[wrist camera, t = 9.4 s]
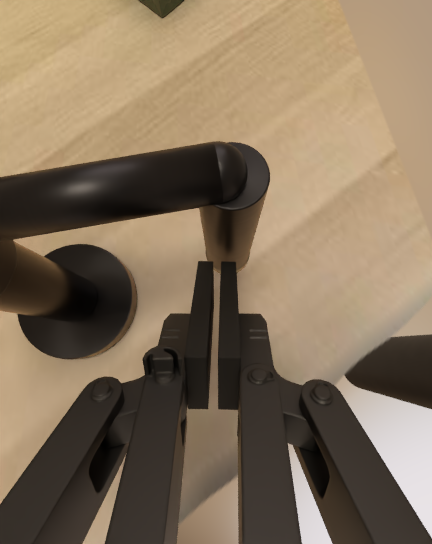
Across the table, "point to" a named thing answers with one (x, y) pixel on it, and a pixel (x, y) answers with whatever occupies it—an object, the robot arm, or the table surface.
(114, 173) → the crank handle
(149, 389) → the robot arm
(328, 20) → the table surface
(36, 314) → the round black base
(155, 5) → the control box
